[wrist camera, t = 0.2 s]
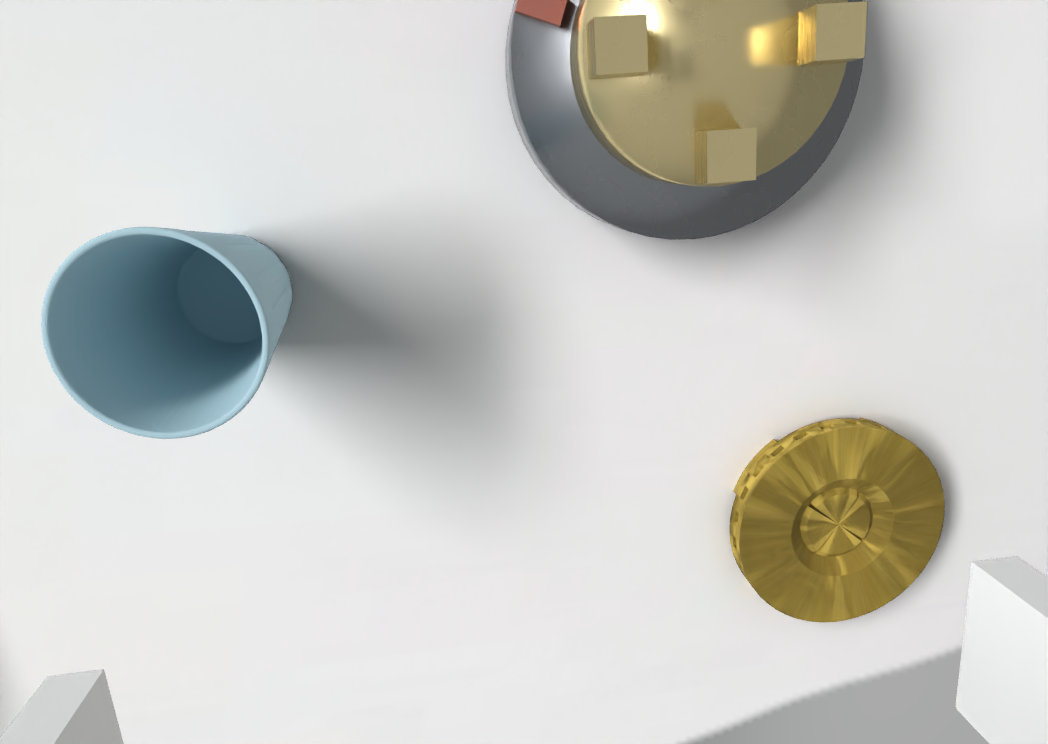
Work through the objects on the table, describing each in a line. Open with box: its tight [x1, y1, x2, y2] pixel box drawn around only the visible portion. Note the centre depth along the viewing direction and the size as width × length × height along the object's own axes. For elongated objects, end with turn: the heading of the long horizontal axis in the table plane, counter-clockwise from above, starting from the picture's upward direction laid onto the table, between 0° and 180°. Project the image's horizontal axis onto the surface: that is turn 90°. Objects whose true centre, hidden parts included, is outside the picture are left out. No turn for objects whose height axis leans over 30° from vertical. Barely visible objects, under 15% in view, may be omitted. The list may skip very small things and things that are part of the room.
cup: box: [41, 227, 293, 439], centre depth 31 cm, size 8×8×10 cm
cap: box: [506, 0, 863, 239], centre depth 34 cm, size 16×16×3 cm
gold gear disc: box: [730, 418, 944, 622], centre depth 42 cm, size 12×12×2 cm
